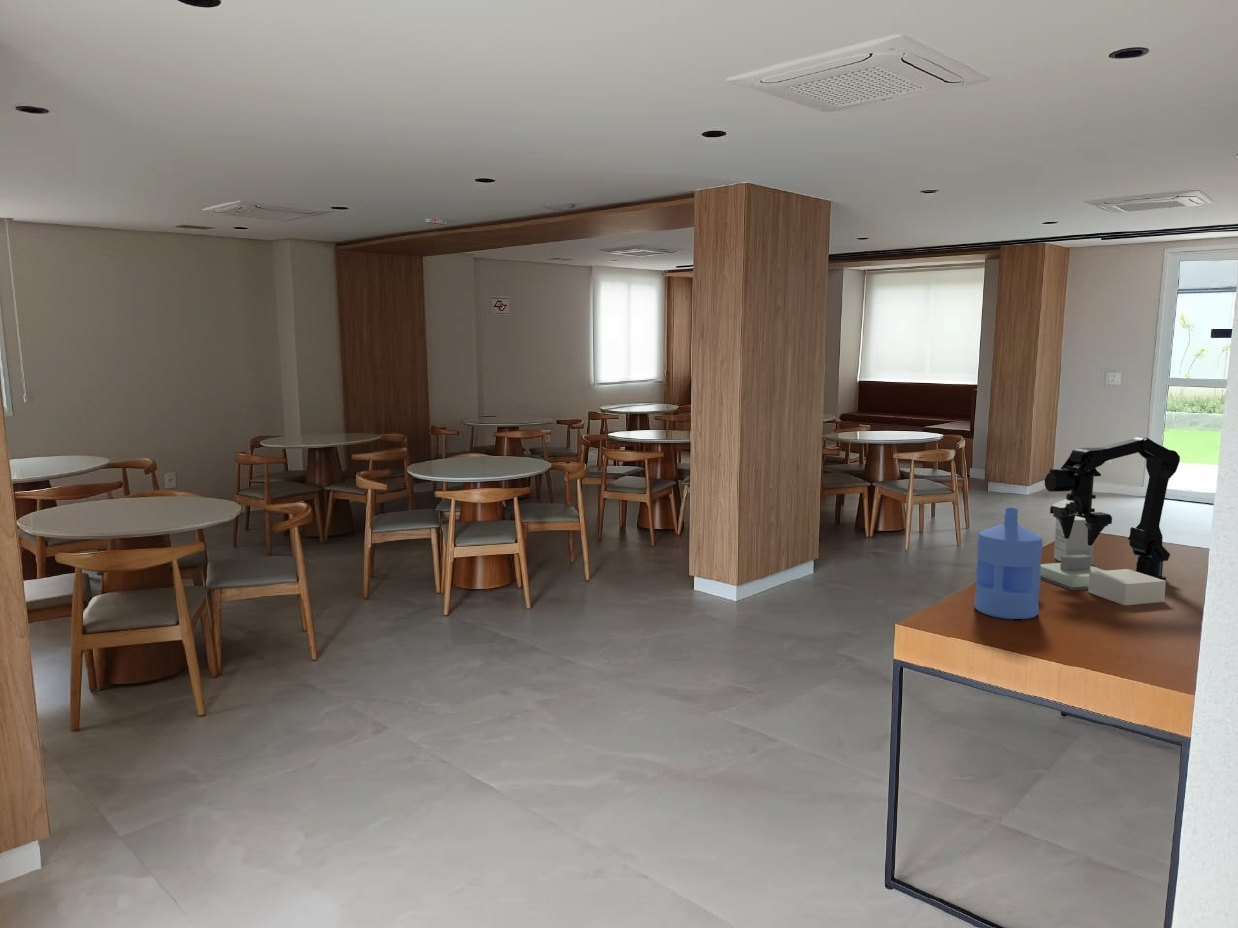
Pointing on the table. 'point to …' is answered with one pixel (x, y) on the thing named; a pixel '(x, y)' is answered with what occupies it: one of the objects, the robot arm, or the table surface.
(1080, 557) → the lid
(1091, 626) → the table surface
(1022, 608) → the water jug
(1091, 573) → the storage box
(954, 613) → the table surface
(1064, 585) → the mat
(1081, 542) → the supplement box
